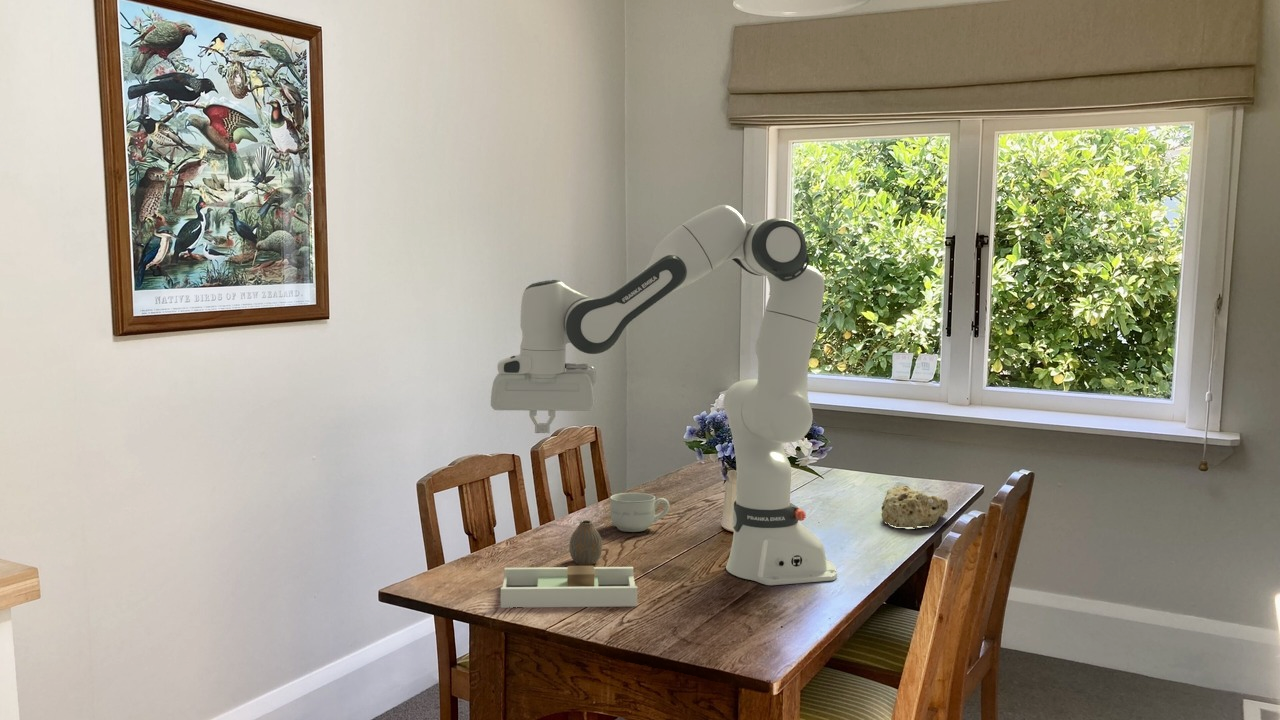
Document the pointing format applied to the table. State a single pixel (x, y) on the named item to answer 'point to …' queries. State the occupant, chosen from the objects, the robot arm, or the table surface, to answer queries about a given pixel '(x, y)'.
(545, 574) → the box
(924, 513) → the rock
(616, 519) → the teacup
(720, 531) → the table surface
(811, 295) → the robot arm
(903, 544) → the table surface
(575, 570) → the walnut block
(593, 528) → the vase
